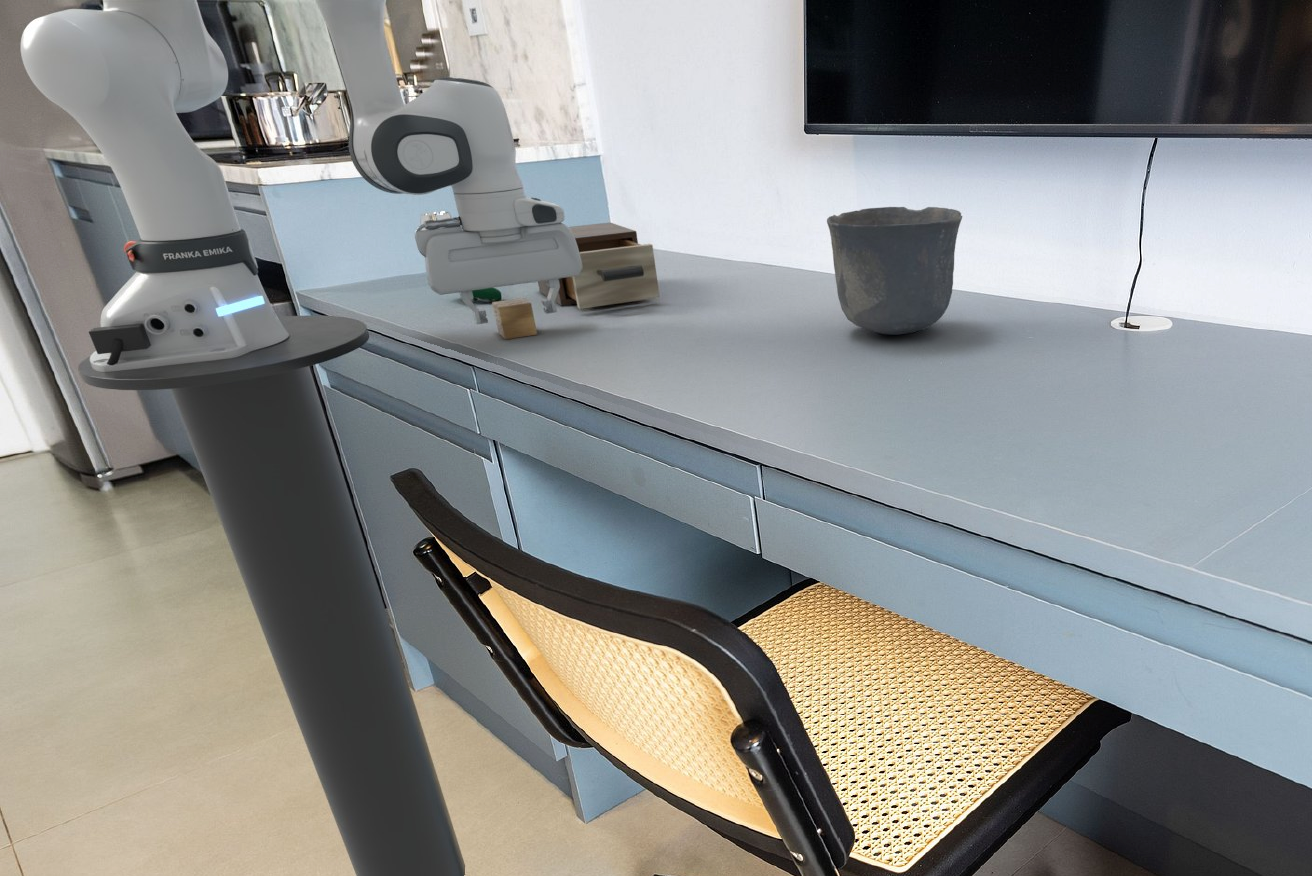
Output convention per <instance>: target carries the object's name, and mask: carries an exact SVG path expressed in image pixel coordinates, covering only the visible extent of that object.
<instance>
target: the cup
mask: <svg viewBox="0 0 1312 876" xmlns="http://www.w3.org/2000/svg"><path fill="white" fill-rule="evenodd" d="M962 219H963V215H962V212H961V211H960V210H958V209H953V208H947V207H937V206H927V207H925V208H922V209H910V208H908V207H905V206H885V207H870V208H861V209H859V210H853V211H848V212H847V211H846V212H842V213H840V214H839V215H835V214H833V215H831V216H829V217H827V219H826V223H827V226H828V230H829V235H830V243H831V249H832V250H831V251H832V258H833V269H834V277H835V284H836V290H837V291H836V292H837V298H838V301H839V305H840V309H841V311H842V312H843V314H844V316H845V318H846V320H847V321H849V323H852V325H854V326H856V327H858V328H861V329H863V330H867V331H870V332H874V333H877V334H881V335H892V336H894V335H896V336H897V335H904V334H905V335H906V334H911V333H916V332H919V331H922V330H925V329H927V328H930V327H931V326H933V325H935V324H936V323H937V322H938V321H939V320H940V319H941V318H942V317H943V316H944V314H945V312H947V311H946V310H948V307H949V305H950V301H951V299H952V295H953V287H954V271H955V252H956V244H957V238H958V235H959V234H958V233H959V229H960V225H961V222H962Z"/></svg>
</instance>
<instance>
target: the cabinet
mask: <svg viewBox="0 0 1312 876" xmlns="http://www.w3.org/2000/svg"><path fill="white" fill-rule="evenodd" d="M568 227H569V228H570V229H571V231H572V233H573V235H574V237H575V240H576V243H577V244H582V243H590V242H599V241H607V240H616V239H627V240H630V241H633V242H635V243H638V244H639V241H638V234H637V231H636V230H635V229H632V228H628V227H625V226H622V225H619V224H616V223H613V222H611V221H610V222H602V223H591V224H583V225H582V224H581V225H574V226H568ZM537 284H538V289H539V293H540V294H541V295H543V296H545V297H547V296H548V293H549V290H550V287H549V286H547V284H546V280H544V281H537ZM559 284H560V288H559V291H558V294H557V297H556V299H555V304H558V305H559V306H561V307H565V306H571V305H577V301H576V300H574V299H573V298H571V297H569V296H567V295H566V294H565V292H564V286H563V281H562V278H559Z"/></svg>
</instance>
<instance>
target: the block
mask: <svg viewBox="0 0 1312 876" xmlns="http://www.w3.org/2000/svg"><path fill="white" fill-rule="evenodd" d="M491 305H492V309H493V313H494V314H493V315H494V319H495V323H496V327H497V332H498V334H499V335H500V336H501V337H502V338H503V339H504V340H511V339H517V338H518V339H519V338H524V337H530V336H535V335H538V331H537V325H536V320H535V316H534V311H533V307H532V303H531V302H530V301H529V300H528V299H526V298H525V297H519V298H513V299H512V298H511V299H506V300H500V301H491Z"/></svg>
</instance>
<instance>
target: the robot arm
mask: <svg viewBox="0 0 1312 876" xmlns="http://www.w3.org/2000/svg"><path fill="white" fill-rule="evenodd" d="M315 2H316V5H317V7H318V9H319V11H320V14H321V16H322V18H323V20H324V24H325V26H326V29H327V33H328V36H329V39H330V42H331V45H332V49H333V51H334V56H335V59H336V61H337V66H338V68H339V71H340V75H341V79H342V82H343V85H344V88H345V92H346V96H347V99H348V103H349V110H350V123H349V132H348V151H349V156H350V159H351V162H352V164H353V166H354V168H355V169H356V171H357V172H358V173H359V175H360V176H361V177H362V178H363V179H364V181H366V182H367V183H368V184H370V185H371V186H372V187H374V188H376V189H378V190H380V191H382V192H385V193H388V194H395V195H401V194H404V195H405V194H406V195H411V196H412V195H413V196H421V195H428V194H431V193H434V192H436V191H437V190H441V189H445V188H447V187H451V189H452V192H453V198H454V201H455V206H456V209H457V214H458V216H454V217H452V218H446V219H442V220H435V221H434V220H428V221H425V222H424V224H423V225H421V224H420V225H419V226H418V227H417V228H416V229H415V231H414V239H415V244H416V248H417V250H418V252H419V253H420V255H422V256H423V257H424V266H425V273H426V278H427V283H428V286H429V288H430V289H431V290H432V291H433V292H435V293H436V294H437V295H439V296H443V295H451V294H456V293H457V294H459V297H460V299H461V300H462V301H463V303H464V304H465V305H466V306H467V307H468V308H469V310H471V311H472V314H473V315H472V316H473V320H474V322H475V324H476V325H483V324H488V323H489V320H488V318H487V311H486V309H485V308H482V307H481V308H477V306H476V305H475V304H474V302H471V301H470V300H469V299H473V293H472V291H473V290H480V289H487V288H500V287H501V288H502V287H507V286H515V285H516V286H517V285H521V284H522V285H523V284H530V283H536V282H537V283H538V281H544V280H546V284H547V286H549V287H550V290H549V293H548V296H546V298H543V299H541V304H542V306H543V307H542V309H543V313H544V314H546V315H548V314H553V313H557V312H558V311H557V306H556V302H555V299H556V297H557V294H558V291H559V288H560V284H559V278H566V277H573V276H578V275H579V274H580V272H581V270H582V261H581V257H580V253H579V249H578V246H577V243H576V240H575V237H574V235H573V233H572V231H571V229H570V228H569V227H570V226H568V225H567V224H565V223H563V222H564V221H565V211H564V209H563V207H562V206H560V205H559V204H557V203H554V202H550V201H546V200H541V199H540V198H537V197H527V195H526V194H525V189H524V184H523V182H522V179H521V178H520V175H519V173H518V170H517V166H516V165H517V163H516V159H517V151H516V145H515V141H514V140H515V139H514V136H513V131H512V127H511V124H510V120H509V116H508V114H507V111H506V108H505V104H504V101H503V99H502V97H501V95H500V94H499V91H497V90H496V89H495V88H494V87H493V86H491V85H490V84H488V83H487V82H484V81H481V80H475V79H469V78H463V77H451V76H449V77H448V76H445V77H444V76H443V77H439V78H436V79H435V80H434V81H433V83H431V85H429V87H427V89H425V91H423V92H422V93H420V94H419V95H418V96H416V98H414V99H411V101H408V102H407V103H405V102H404V100H403V97H402V94H401V90H400V86H399V83H398V79H397V75H396V71H395V68H394V65H393V61H392V57H391V53H390V49H389V46H388V43H387V38H386V33H385V32H386V31H385V21H384V20H385V18H384V17H385V7H386V2H387V0H315ZM102 4H103V9H101V10H99V9H86V8H84V9H83V8H68V9H65V10H60V11H56V12H53V13H50V14H46V15H42V16H40V17H37V18H35V19H33V20H32V21H30V22H29V23H28V24H27V25H26V27H25V28H24V30H23V31H22V35H21V38H20V56H21V60H22V64H23V66H24V69H25V71H26V73H27V75H28V77H29V78H30V81H31V82H32V83H33V85H34V86H35V87H36V88H37V90H38V91H39V92H40V93H41V94H42V95H43V96H45V97H46V99H48V100H49V101H50V102H52V103H54V104H55V105H57V106H58V107H60V108H61V109H63V111H65V112H66V113H68V114H69V115H70V116H71V117H72V118H73V119H74V120H75V121H76V122H77V123H78V124H79V126H81V127H82V129H83V130H84V131H85V132H86V134H87V135H88V136H89V138H90V139H91V141H92V142H93V143H94V144H95V145H96V147H97V148H98V150H99V151H100V153H101V154H102V156H103V157H104V159H105V160H106V162H107V164H108V165H109V166H110V168H111V170H112V173H113V174H114V176H115V178H116V180H117V182H118V184H119V187H120V189H121V191H122V195H123V196H124V198H125V201H126V205H127V206H128V209H129V211H130V214H131V216H132V219H133V222H134V224H135V227H136V229H137V232H138V234H139V240H137V241H135V240H130V241H128V242H126V243H125V245H124V246H123V251H124V254H125V256H126V257H127V260H128V263H129V265H130V267H131V269H132V271H136V272H135V273H134V274H133V275H132V276H131V277H130V278H129V279H128V280H127V281H126V283H124V284H123V286H122V287H121V288H120V289H119V290H118V291H117V293H115V295H114V296H113V297H112V298H111V299H110V300H109V301H108V303H107V304H106V305H105V306H104V307H103V309H102V311H101V314H100V326H99V327H98V326H97V327H93V328H92V329H91V330H89V331H88V334H89V337H90V339H91V341H92V345H93V347H94V349H95V351H93V353H91V354H90V355H89V357H90V363H91V366H92V368H93V369H94V370H96V371H100V372H112V371H121V370H130V369H140V368H149V367H158V366H167V365H176V364H185V363H194V362H203V361H212V360H221V359H230V358H235V357H239V356H241V355H244V354H246V353H248V352H251V351H254V350H257V349H261V348H264V347H268V346H271V345H274V344H277V343H279V342H281V341H283V340H285V339H287V338H288V337H289V334H288V332H287V331H286V329H285V328H284V326H283V325H282V323H281V322H280V320H279V318H278V317H279V316H278V315H277V313H276V311H275V310H274V307H273V306H272V304H271V302H270V300H269V298H268V296H267V293H266V292H265V289H264V286H263V285H262V283H261V281H260V277H259V275H258V273H259V270H258V269H259V266H258V263H257V259H256V257H255V253H254V249H253V246H252V243H251V241H250V238H248V235H247V233H246V231H245V230H244V229H243V228H241V225H240V223H239V219H238V216H237V213H236V210H235V207H234V204H233V201H232V197H231V195H230V192H229V190H228V185H227V182H226V180H225V175H224V173H223V170H222V169H221V167H220V165H219V164H218V163H217V161H215V160H214V159H213V158H212V157H211V156H210V155H208V154H206V153H205V152H204V151H203V150H201V148H199V146H198V145H197V144H196V142H195V141H194V140H193V138H191V136H190V135H189V133H188V131H187V130H186V128H185V127H184V125H183V124H182V122H181V119H180V118H179V116H178V115H177V114H182V113H183V114H184V113H192V112H194V111H195V112H196V111H197V110H199V109H202V108H204V107H206V106H208V105H210V104H212V103H213V102H215V101H217V100H218V99H220V98H222V96H223V94H224V93H225V92H226V90H227V87H228V82H229V69H228V64H227V60H226V57H225V55H224V53H223V51H222V50H221V48H220V46H219V45H218V44H217V42H216V41H215V40H214V39H213V37H212V36H211V35H210V33H209V32H208V30H207V27H206V25H205V22H204V20H203V16H202V13H201V10H200V7H199V3H198V0H102ZM446 227H447V228H446ZM422 228H425V229H428V230H421V229H422ZM436 228H438V229H436ZM458 292H459V293H458Z"/></svg>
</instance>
